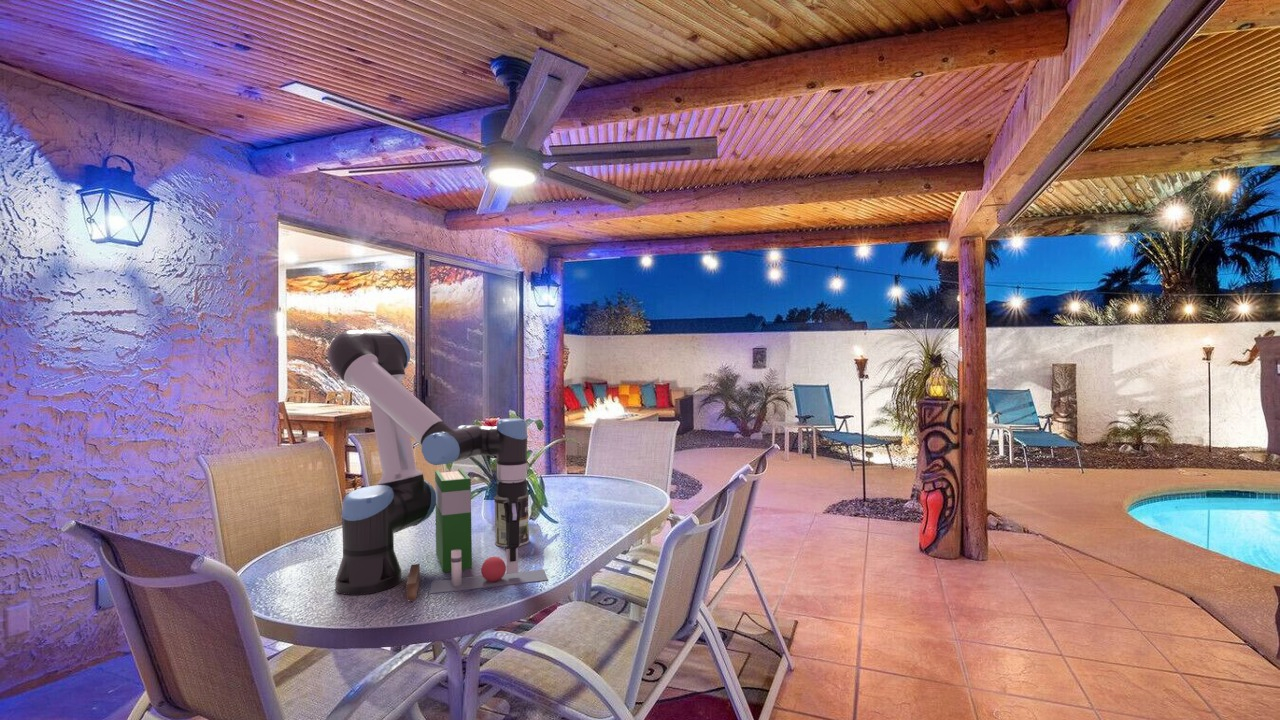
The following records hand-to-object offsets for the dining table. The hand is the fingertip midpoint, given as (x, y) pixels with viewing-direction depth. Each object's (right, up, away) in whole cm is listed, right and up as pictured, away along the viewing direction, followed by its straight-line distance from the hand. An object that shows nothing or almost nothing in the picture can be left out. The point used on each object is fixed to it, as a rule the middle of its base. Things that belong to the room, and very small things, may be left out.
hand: (512, 572), depth 155 cm
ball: (-4, +1, -2) cm, 5 cm away
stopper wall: (-22, -2, -7) cm, 24 cm away
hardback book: (-19, -2, +15) cm, 24 cm away
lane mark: (-5, -2, -2) cm, 6 cm away
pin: (-13, -2, -4) cm, 14 cm away
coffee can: (-7, -2, +31) cm, 32 cm away
